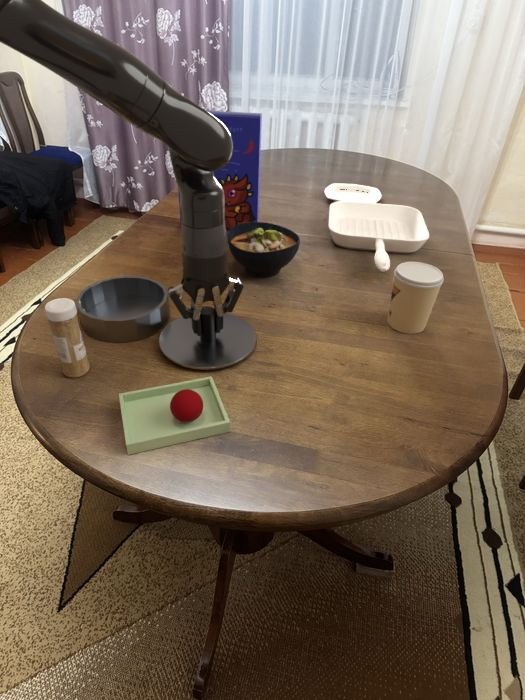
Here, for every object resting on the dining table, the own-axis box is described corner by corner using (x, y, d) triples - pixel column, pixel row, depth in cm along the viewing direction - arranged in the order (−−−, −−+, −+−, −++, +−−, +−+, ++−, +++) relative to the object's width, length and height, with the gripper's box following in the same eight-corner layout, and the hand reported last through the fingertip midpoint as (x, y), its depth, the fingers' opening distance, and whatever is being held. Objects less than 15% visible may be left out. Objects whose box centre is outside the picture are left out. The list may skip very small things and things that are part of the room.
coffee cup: (390, 307, 102) (401, 256, 95) (433, 319, 99) (448, 267, 92) (377, 327, 95) (389, 275, 88) (423, 341, 92) (439, 287, 85)
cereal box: (258, 224, 137) (261, 112, 120) (256, 232, 133) (260, 116, 115) (185, 220, 138) (177, 108, 120) (181, 228, 133) (172, 112, 115)
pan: (415, 221, 144) (419, 206, 141) (438, 289, 109) (444, 271, 107) (328, 213, 146) (330, 199, 144) (323, 278, 112) (326, 260, 109)
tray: (128, 455, 67) (125, 445, 65) (120, 403, 75) (118, 393, 74) (230, 431, 71) (230, 422, 70) (212, 385, 79) (211, 376, 78)
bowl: (263, 294, 105) (265, 253, 99) (213, 268, 114) (212, 229, 108) (311, 270, 115) (315, 232, 109) (261, 248, 124) (262, 212, 118)
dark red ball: (162, 422, 69) (186, 414, 67) (163, 390, 71) (186, 382, 69) (187, 428, 73) (210, 420, 70) (186, 397, 75) (209, 389, 72)
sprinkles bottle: (94, 372, 81) (78, 306, 73) (67, 382, 79) (48, 314, 71) (85, 359, 84) (69, 294, 76) (59, 367, 82) (40, 301, 74)
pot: (83, 349, 86) (77, 326, 83) (80, 302, 99) (75, 281, 96) (176, 334, 91) (174, 312, 88) (162, 291, 104) (160, 271, 101)
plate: (379, 211, 150) (380, 205, 149) (320, 204, 153) (321, 198, 152) (381, 192, 165) (382, 187, 164) (327, 186, 168) (328, 181, 167)
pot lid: (168, 380, 80) (165, 347, 75) (152, 323, 94) (148, 292, 89) (269, 361, 85) (271, 329, 81) (240, 310, 99) (240, 280, 94)
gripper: (238, 234, 82) (237, 316, 93) (158, 242, 78) (167, 327, 89) (251, 251, 77) (249, 337, 87) (165, 261, 73) (174, 349, 83)
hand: (207, 331), depth 88 cm, fingers closed on pot lid, 3 cm apart
